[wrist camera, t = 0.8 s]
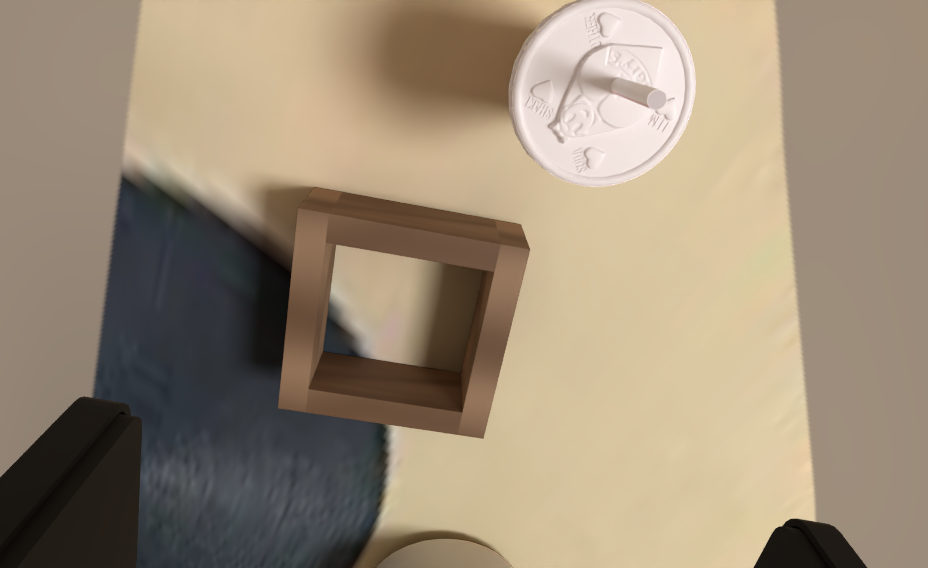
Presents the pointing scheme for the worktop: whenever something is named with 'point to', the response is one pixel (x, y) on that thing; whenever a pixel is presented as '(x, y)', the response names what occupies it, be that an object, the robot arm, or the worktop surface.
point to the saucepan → (445, 556)
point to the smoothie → (602, 91)
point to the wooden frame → (385, 383)
